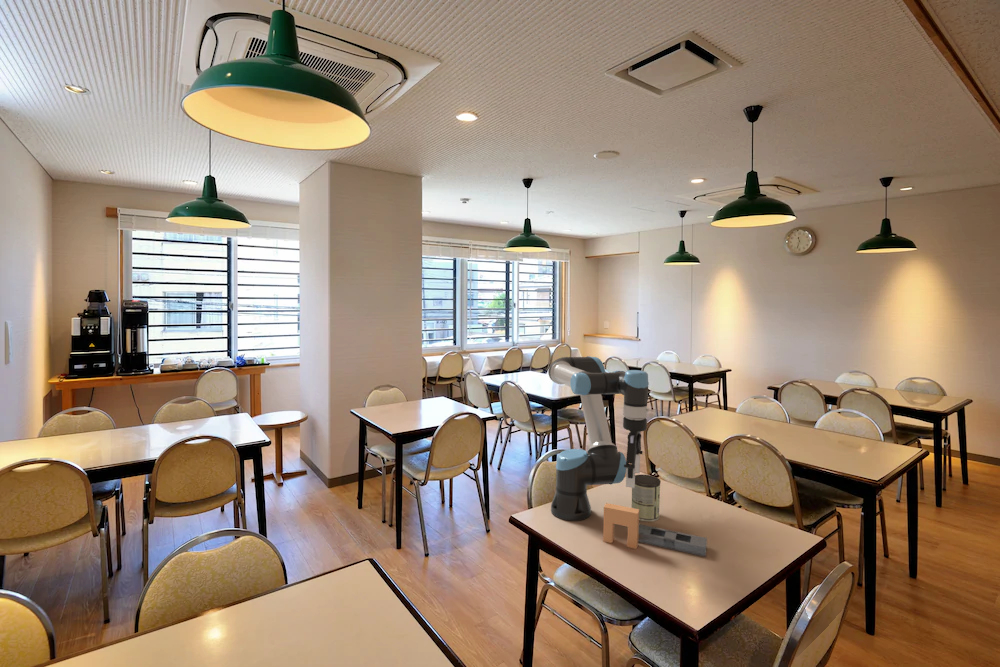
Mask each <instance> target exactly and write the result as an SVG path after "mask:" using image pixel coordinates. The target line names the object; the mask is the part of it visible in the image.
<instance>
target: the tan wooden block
mask: <svg viewBox="0 0 1000 667" xmlns="http://www.w3.org/2000/svg"><path fill="white" fill-rule="evenodd" d="M639 524H640V520H639V509H634V508H632V507H629V506H625V505H624V506H623V505H618V504H614V503H613V504H612V503H607V502H606V503H605V504H604V506H603V531H602V532H603V533H602V536H603V537H602V542H603V543H609V544H613V543H614V540H615V525H618V526H624V527H627V539H626V540H627V541H626V543H627V544H626V545H627V546H626V547H627V548H631V549H635V550H637V548H638V546H639V542H638V534H639Z"/></svg>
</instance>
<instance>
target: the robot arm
mask: <svg viewBox="0 0 1000 667" xmlns="http://www.w3.org/2000/svg"><path fill="white" fill-rule="evenodd" d="M605 368H606V367H605V366H604V363H603V361H602V360H601V359H600V358H599V357H596V356H590V355H589V356H564V357H560V358H556V359H555V360H554V361H552V362H551V364H550V365H549V367H548V370H547V372H548V373H547V374H548V377H549V379H550V380H551V382H553V383H555V384H557V385H566V386H568V387H570V389H571V391H572V394H574V395H578V396H580V400H581V406H582V412H583V417H584V421H585V426H586V431H587V437H588V441H589V442H588V443H589V448H588V449H587V450H585V449H581V448H579V449H578V448H569V449H566V450H562V451H561V452H560V453H558V454H557V456H556V462H555V463H556V464H555V470H556V471H555V472H556V474H555V475H556V476H555V493H554V496H553V498H552V501H551V504H550V512H551V514H552V515H553V516H555V517H557V518H558V519H561V520H563V521H564V520H565V521H576V522H577V521H583V520H586V519H588V518H589V517H590V516H591V515H592V507H591V504H590V501H589V496H588V493H587V492H588V489H587V488H588V486H597V485H598V486H601V485H611V486H612V485H614V484H619V483H621V482H624V480H625V487H626V488H631V489H632V488H635V475H636V474H640V472H641V455H643V450H642V442H641V441H642V434H641V432H645V431H647V426H648V424H647V423H648V420H647V417H648V412H650V409H649V408H648V400H649V385H650V383H649V374H648V373H647V371H644V370H638V369H630V370H626V371H624V370H614V371H612V372H606V369H605ZM602 395H623V410H622V411H623V413H622V414H623V422H622V428H623V429H624V430H627V431H629V432H628V434H627V449H626V456H625V454H624V453H623V452H621V451H619V450H618V447H617V445H615V443H613V442H612V437H611V432H610V428H609V423H608V419H607V414H606V410H605V405H604V400H603V396H602Z"/></svg>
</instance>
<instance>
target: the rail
mask: <svg viewBox="0 0 1000 667" xmlns="http://www.w3.org/2000/svg"><path fill="white" fill-rule="evenodd" d="M638 543H643V544H647V545H651V546H655V547H661V548H665V549H668V550H673V551H678V552H682V553H687V554H691V555H695V556H699V557H703V558H704V557H705V558H706V557H707V556H706V554H707V545H708V544H707V543H708V538H707V537H704V536H698V535H693V534H689V533H685V532H684V533H683V532H680V531H675V530H670V529H666V528H665V529H664V528H660V527H656V526H651V525H645V524H642V523H639V534H638Z"/></svg>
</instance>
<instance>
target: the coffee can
mask: <svg viewBox="0 0 1000 667" xmlns="http://www.w3.org/2000/svg"><path fill="white" fill-rule="evenodd" d="M660 495H661V479H660V478H659V477H656V476H653V475H650V474H635V488H631V508H634V509H639V521H641V522H648V523H649V522H650V523H651V522H656V521H658V520H659V519H660V505H661V504H660V503H661V501H660V498H661V497H660Z"/></svg>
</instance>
